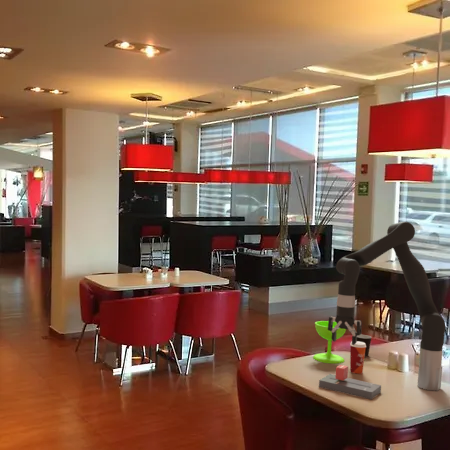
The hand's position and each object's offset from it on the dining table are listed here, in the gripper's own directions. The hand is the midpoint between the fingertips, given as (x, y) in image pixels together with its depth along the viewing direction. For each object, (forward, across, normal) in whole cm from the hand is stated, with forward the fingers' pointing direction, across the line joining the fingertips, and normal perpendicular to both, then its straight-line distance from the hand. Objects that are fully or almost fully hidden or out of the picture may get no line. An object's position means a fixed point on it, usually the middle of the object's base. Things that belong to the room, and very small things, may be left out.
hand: (343, 342), depth 238 cm
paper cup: (+20, +3, -28) cm, 34 cm away
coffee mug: (+20, +12, -60) cm, 64 cm away
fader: (+16, 0, 0) cm, 16 cm away
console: (+20, -4, 0) cm, 20 cm away
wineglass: (+20, +22, -40) cm, 50 cm away
